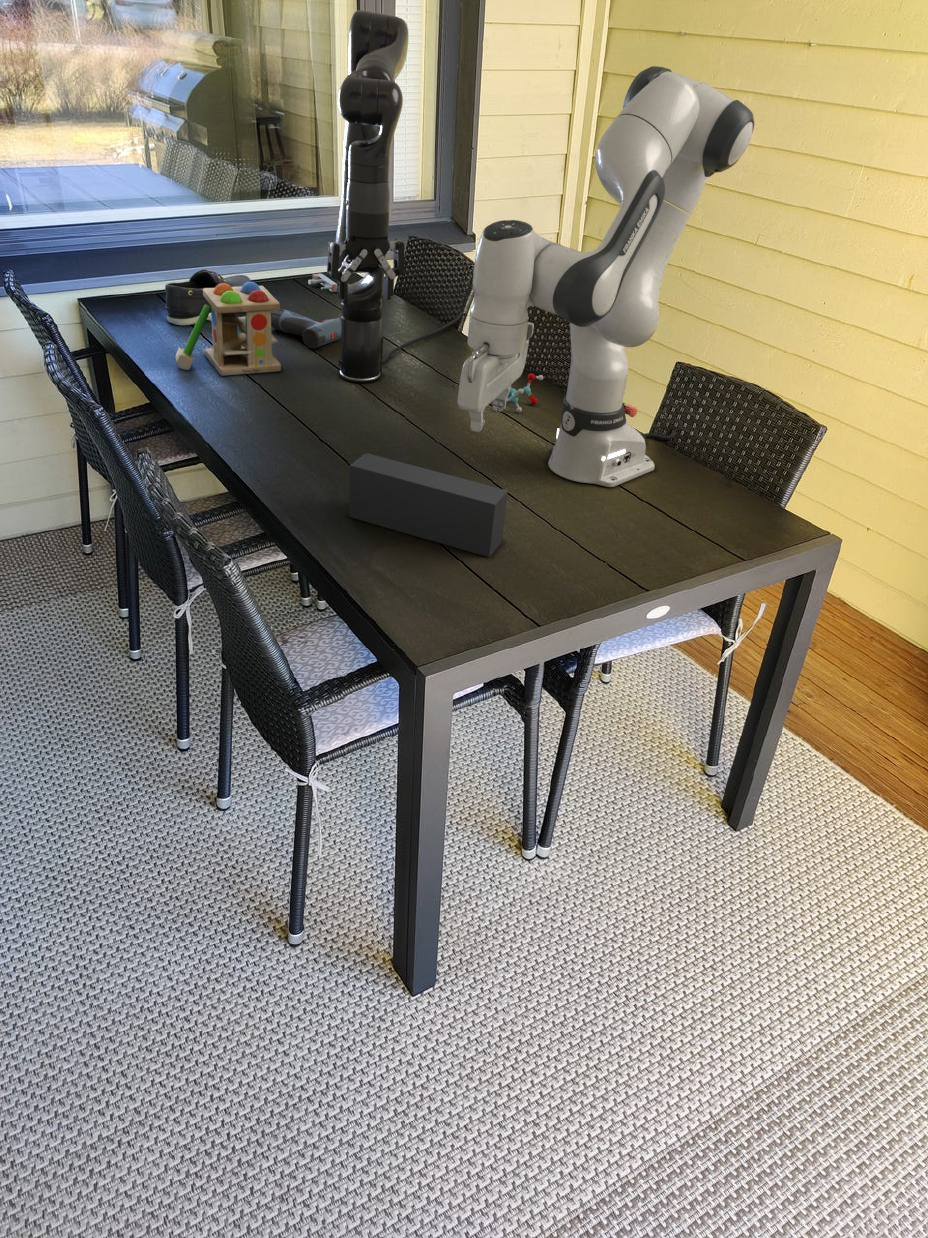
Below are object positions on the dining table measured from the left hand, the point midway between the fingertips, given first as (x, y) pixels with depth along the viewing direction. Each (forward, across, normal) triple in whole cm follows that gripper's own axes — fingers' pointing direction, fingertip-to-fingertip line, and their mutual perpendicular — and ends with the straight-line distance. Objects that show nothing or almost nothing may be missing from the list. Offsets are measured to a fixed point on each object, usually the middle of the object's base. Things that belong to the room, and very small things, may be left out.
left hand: (365, 299), depth 181 cm
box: (+30, -2, -34) cm, 46 cm away
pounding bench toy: (+30, -13, +52) cm, 62 cm away
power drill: (+30, +14, +69) cm, 77 cm away
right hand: (+7, +4, -42) cm, 42 cm away
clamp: (+30, +32, +106) cm, 115 cm away
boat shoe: (+30, -5, +93) cm, 98 cm away
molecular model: (+30, +42, +12) cm, 54 cm away
